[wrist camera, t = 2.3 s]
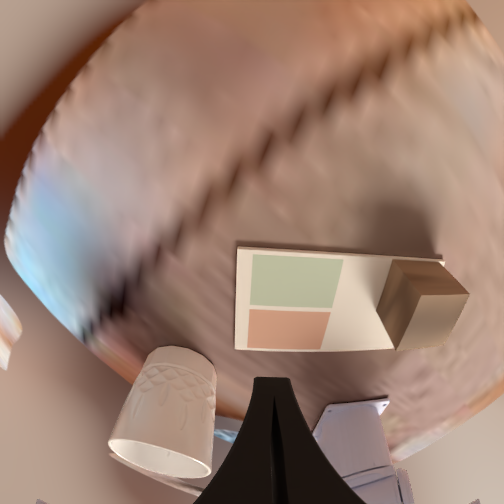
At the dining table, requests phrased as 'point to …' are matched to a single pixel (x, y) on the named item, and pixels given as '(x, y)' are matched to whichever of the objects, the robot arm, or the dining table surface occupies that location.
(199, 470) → the white cup
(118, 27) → the dining table surface
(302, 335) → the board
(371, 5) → the dining table surface
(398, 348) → the block
